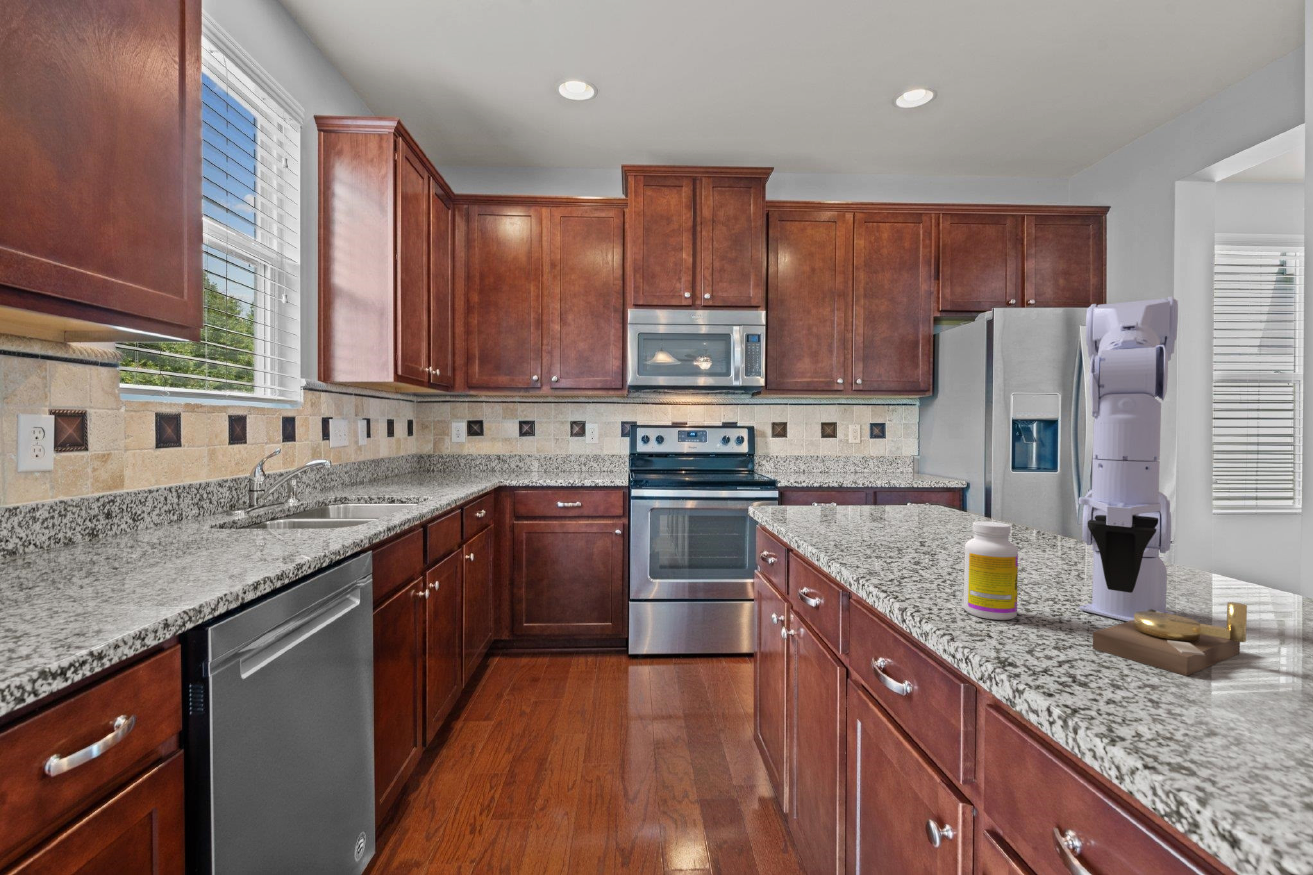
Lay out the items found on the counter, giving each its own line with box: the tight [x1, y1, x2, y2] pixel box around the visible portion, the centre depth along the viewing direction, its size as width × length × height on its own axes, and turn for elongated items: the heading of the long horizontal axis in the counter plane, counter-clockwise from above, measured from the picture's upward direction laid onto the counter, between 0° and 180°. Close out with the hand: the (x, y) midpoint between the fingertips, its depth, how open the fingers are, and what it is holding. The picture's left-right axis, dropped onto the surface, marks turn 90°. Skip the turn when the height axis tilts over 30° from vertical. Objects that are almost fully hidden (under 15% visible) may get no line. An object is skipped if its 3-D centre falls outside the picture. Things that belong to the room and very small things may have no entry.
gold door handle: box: [1134, 601, 1248, 643], centre depth 71 cm, size 10×6×4 cm, turn 49°
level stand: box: [1092, 609, 1241, 677], centre depth 72 cm, size 14×10×4 cm
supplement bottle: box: [963, 520, 1019, 621], centre depth 85 cm, size 7×7×13 cm
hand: (1122, 585), depth 65 cm, fingers open, 5 cm apart
